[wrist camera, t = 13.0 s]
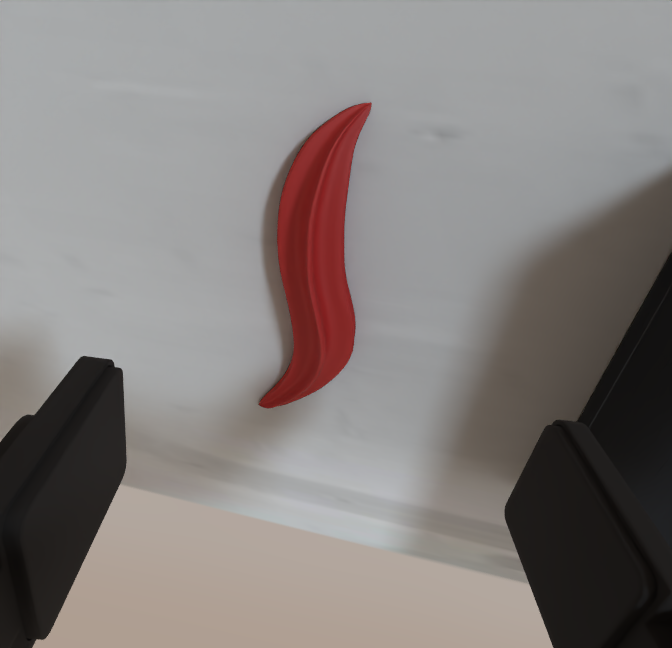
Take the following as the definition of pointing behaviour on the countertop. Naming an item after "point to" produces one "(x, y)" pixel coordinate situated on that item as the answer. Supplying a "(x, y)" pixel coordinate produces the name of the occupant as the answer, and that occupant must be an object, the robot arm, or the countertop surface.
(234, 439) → the countertop surface
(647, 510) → the bin
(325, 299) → the cayenne pepper
